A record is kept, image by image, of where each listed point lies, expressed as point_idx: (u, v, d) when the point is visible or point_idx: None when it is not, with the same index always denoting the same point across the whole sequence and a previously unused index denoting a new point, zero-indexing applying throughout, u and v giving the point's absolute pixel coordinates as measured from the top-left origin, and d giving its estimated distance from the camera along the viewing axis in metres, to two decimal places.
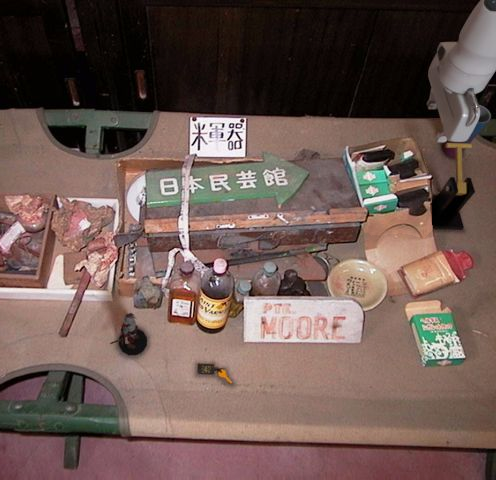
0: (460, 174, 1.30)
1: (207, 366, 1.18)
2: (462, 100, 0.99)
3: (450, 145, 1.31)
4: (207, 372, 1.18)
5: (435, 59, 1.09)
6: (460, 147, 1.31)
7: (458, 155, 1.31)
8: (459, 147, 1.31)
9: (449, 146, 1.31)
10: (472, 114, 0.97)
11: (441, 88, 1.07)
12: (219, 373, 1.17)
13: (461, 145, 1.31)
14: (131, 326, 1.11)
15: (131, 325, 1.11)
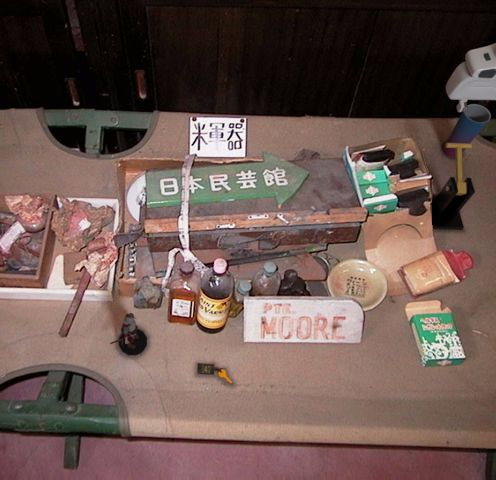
0: (460, 174, 1.30)
1: (207, 366, 1.18)
2: None
3: (450, 145, 1.31)
4: (207, 372, 1.17)
5: (465, 84, 1.11)
6: (460, 147, 1.31)
7: (458, 155, 1.31)
8: (459, 147, 1.31)
9: (449, 146, 1.31)
10: None
11: (493, 89, 1.12)
12: (219, 373, 1.17)
13: (461, 145, 1.31)
14: (131, 326, 1.11)
15: (131, 325, 1.11)
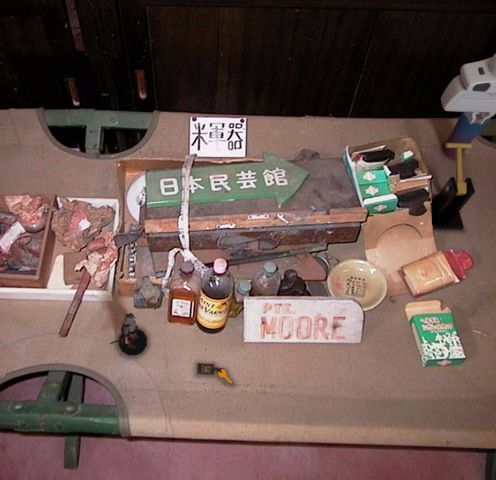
0: (460, 174, 1.30)
1: (207, 366, 1.18)
2: None
3: (450, 145, 1.31)
4: (207, 372, 1.17)
5: (460, 96, 1.15)
6: (460, 147, 1.31)
7: (458, 155, 1.31)
8: (459, 147, 1.31)
9: (449, 146, 1.31)
10: None
11: (486, 101, 1.17)
12: (219, 373, 1.17)
13: (461, 145, 1.31)
14: (131, 326, 1.11)
15: (131, 325, 1.11)
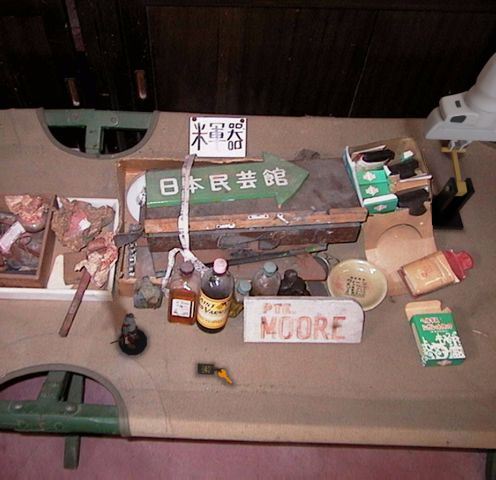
0: (458, 175, 1.31)
1: (207, 366, 1.18)
2: None
3: (445, 149, 1.33)
4: (207, 372, 1.18)
5: (439, 126, 1.24)
6: (455, 150, 1.33)
7: (454, 158, 1.33)
8: (454, 151, 1.33)
9: (444, 150, 1.34)
10: None
11: (463, 131, 1.26)
12: (219, 373, 1.17)
13: None
14: (131, 326, 1.11)
15: (131, 325, 1.11)
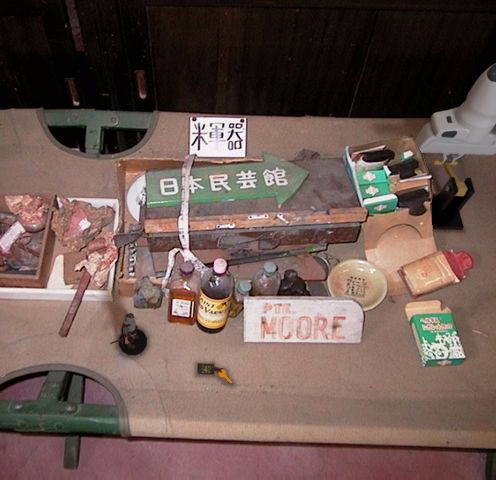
0: (455, 178, 1.32)
1: (207, 366, 1.18)
2: (493, 133, 1.26)
3: (437, 161, 1.38)
4: (207, 372, 1.17)
5: (431, 141, 1.28)
6: None
7: (447, 167, 1.36)
8: None
9: (436, 162, 1.38)
10: None
11: (455, 145, 1.30)
12: (219, 373, 1.17)
13: None
14: (131, 326, 1.11)
15: (131, 325, 1.11)
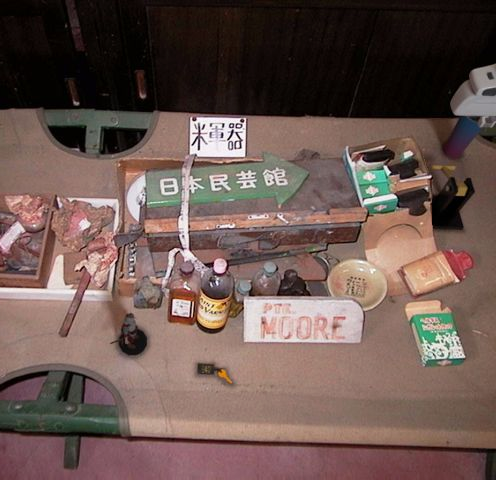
0: None
1: (207, 366, 1.18)
2: None
3: (435, 165, 1.39)
4: (207, 372, 1.17)
5: (469, 101, 1.16)
6: (445, 166, 1.38)
7: (446, 170, 1.37)
8: (444, 167, 1.38)
9: (434, 166, 1.39)
10: None
11: (495, 105, 1.17)
12: (219, 373, 1.17)
13: (445, 166, 1.39)
14: (131, 326, 1.11)
15: (131, 325, 1.11)
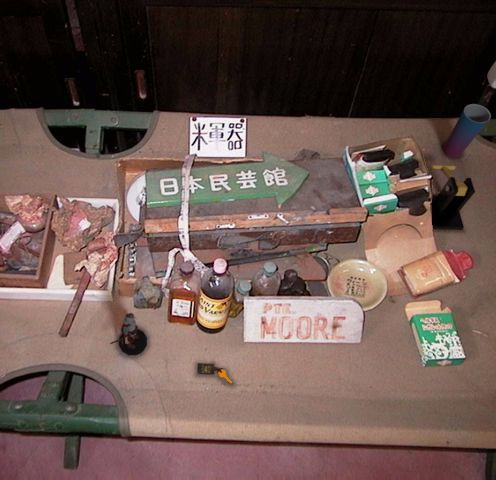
0: None
1: (207, 366, 1.18)
2: None
3: (435, 165, 1.39)
4: (207, 372, 1.17)
5: None
6: (445, 166, 1.38)
7: (446, 170, 1.37)
8: (444, 167, 1.38)
9: (434, 166, 1.39)
10: None
11: None
12: (219, 373, 1.17)
13: (445, 166, 1.39)
14: (131, 326, 1.11)
15: (131, 325, 1.11)
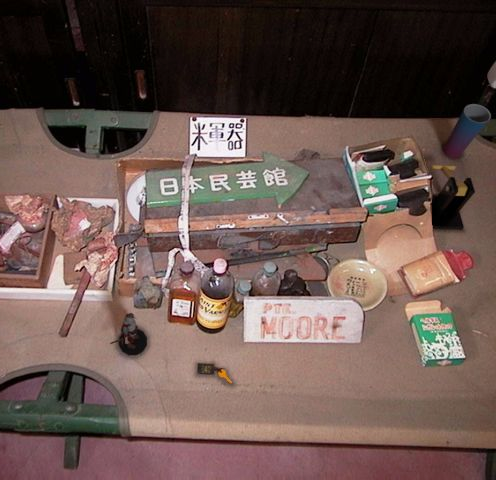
0: None
1: (207, 366, 1.18)
2: None
3: (435, 165, 1.39)
4: (207, 372, 1.17)
5: None
6: (445, 166, 1.38)
7: (446, 170, 1.37)
8: (444, 167, 1.38)
9: (434, 166, 1.39)
10: None
11: None
12: (219, 373, 1.17)
13: (445, 166, 1.39)
14: (131, 326, 1.11)
15: (131, 325, 1.11)
